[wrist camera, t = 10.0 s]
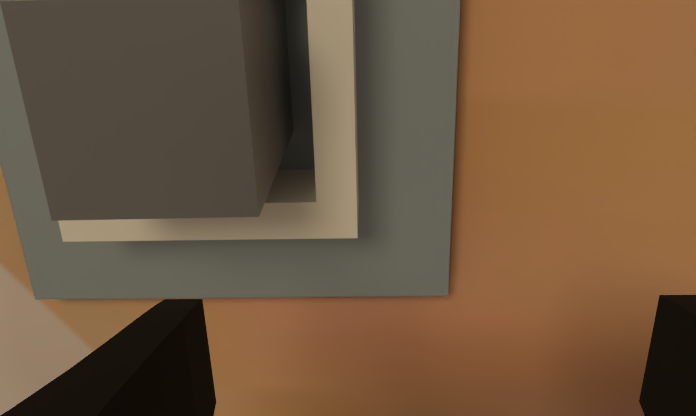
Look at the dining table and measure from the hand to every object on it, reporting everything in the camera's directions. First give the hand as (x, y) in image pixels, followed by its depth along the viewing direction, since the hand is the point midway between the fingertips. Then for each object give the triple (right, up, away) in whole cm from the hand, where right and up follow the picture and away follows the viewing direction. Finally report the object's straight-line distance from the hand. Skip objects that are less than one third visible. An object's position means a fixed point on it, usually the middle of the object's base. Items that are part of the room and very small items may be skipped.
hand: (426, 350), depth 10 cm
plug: (-5, +6, +7) cm, 10 cm away
